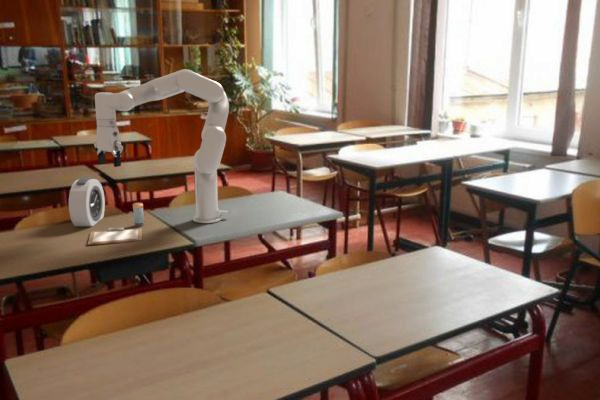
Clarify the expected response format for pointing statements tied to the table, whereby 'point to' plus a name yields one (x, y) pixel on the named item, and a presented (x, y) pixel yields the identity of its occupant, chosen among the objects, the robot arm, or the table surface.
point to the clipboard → (115, 236)
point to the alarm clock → (86, 202)
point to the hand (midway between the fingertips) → (109, 165)
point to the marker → (138, 214)
